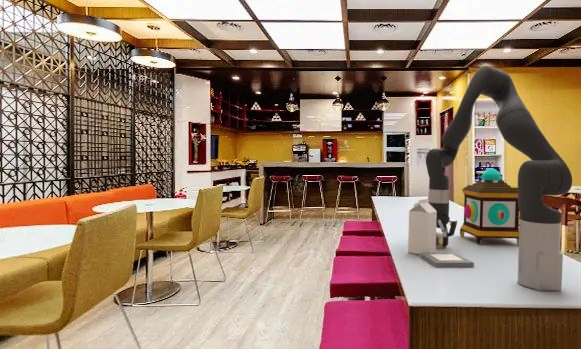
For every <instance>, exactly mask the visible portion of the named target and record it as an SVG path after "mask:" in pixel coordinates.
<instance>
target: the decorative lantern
mask: <svg viewBox="0 0 581 349" xmlns="http://www.w3.org/2000/svg"><path fill="white" fill-rule="evenodd" d="M461 191H462V193H463V196H464V198H463V199H464V203H463V206H464V207H463V208H464V209H463V223H462V224H461V227H460V229H459V235H460V237H464V235H465V233H466V234H468V235H471V236H473V237H475V239H476V244H477V245H479V246H480V245H481V243H482V240H483V239H516V244H517V246H519V226H520V212H519V208H518V187H514V186H513V187H512V186H511V185H509V184H508V183H507V182H505V180H504V179H503V180H502V176H501V173H500V172H499V171H498V170H497V169H495V168H493V167H492V168H487V169H486V170H485V171H484V172H483V173H482V175H481V179H478V181H475V182H474V183H472V184H467V186H465V187H463V188H462V189H461Z"/></svg>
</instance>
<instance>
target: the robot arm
mask: <svg viewBox="0 0 581 349" xmlns="http://www.w3.org/2000/svg"><path fill="white" fill-rule="evenodd" d="M480 96H484V97H487V98H489V99H492V100H493V101H494V102H495V104H496V106H497V108H498V111H497V114H496V117H495V122H496V126H497V128H498V130H499V132H500V134H501V137H502V138H503V139H504V141H505V142H506V143H507V144H509V145H510V146H511V147H513V148H514V149H515V150H517V151H519V152H521V153H522V154H523V155H524V156H526V157H527V158H529V160H526V161H524V162H523V163H522V164H521V165H520V167H519V169H518V172H517V189H518V208H519V225H518V229H519V245H518V256H517V258H518V259H517V283H518V284H520V285H521V286H524V287H525V288H529V289H533V290H534V289H535V290H536V291H539V292H540V291H542V292H543V291H562V287H563V286H562V282H563V281H562V280H563V259H564V256H563V253H561V240H562V239H561V237H562V235H561V234H562V218H563V217H562V213H561V211H560V210H557V209H554V208H551V207H550V206H548V205H547V204H546V203H545V202H544V198H543V196H562V195H565V194H567V193H569V191H570V190H571V189H572V186H573V176H572V172H571V170H570V168H569V166H568V165H567V162H565V161H564V159H563V158H562V157H561V156H560V155H559V153H558V152H557V151H556V149H555V148H554V147H553V146H552V145H551V144H550V142H549V141H548V140H547V138H546V137H545V135H544V133H543V132H542V131H541V128H540V127H539V126H538V124H537V122H536V121H535V120H536V119H535V118H534V117H533V115H532V114H531V112H530V111H529V110H528V108H527V106H526V105H525V103H524V102H523V100H522V98H521V97H520V95H519V93H518V91H517V89H516V86H515V84H514V81H513V79H512V77H511V75H510V74H509V73H507V72H506V71H504V70H501V69H498V68H496V67H493V66H491V65H483V66H481V67H479V68H478V69H477V70H476V71H475V72H474V74H473V76H472V77H471V79H470V81H469V83H468V85H467V87H466V90H465V92H464V94H463V96H462V99H461V101H460V103H459V106H458V108H457V111H456V112H455V115H454V117H453V119H452V120H451V122H450V123H449V125H448V126H447V128H446V129H445V131H444V132H443V134H442V136H441V142H442V144H443V145H442V147H441V148H432V149H430V150H429V151H428V152H427V154H426V157H425V166H426V169H427V174H428V178H429V179H428V180H429V181H428V183H429V184H428V195H427V196H428V197H427V199H428V203H429V204H430V205H431V206H432V207H433V208H434V209H435V210H436V211H437V219H436V229H440V232H441V233H443V236H444V237H443V247H444V248H446V247H447V246H448V245H449V238H450V237H453V236H455V232H456V229H457V225H458V220H457V219H456V220H454V219H450V216H449V214H450V177H449V175H448V174H445V172H444V169H443V168H447V167H450V166H451V165H452V164H453V162H454V161H455V159H456V158H457V154H458V152H459V149H460V146H461V144H462V143H464V142H463V141H465V138H466V137H467V136H468V134H469V132H470V131H471V128H472V123H473V110H474V105H475V104H476V101H477V100H478V99H479V97H480ZM448 224H449V226H450V228H449V230H448V227H447V225H448Z"/></svg>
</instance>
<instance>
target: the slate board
mask: <svg viewBox="0 0 581 349" xmlns="http://www.w3.org/2000/svg"><path fill="white" fill-rule="evenodd" d="M419 256H420V258H421V259H422V260H424V261H426V262H427V263H428V264H430V265H432V266H433V267H434V268H475V262H473V261H472V260H470V259H468V258H466V257H464V256H462V255H460V254H458V253H456V252H435V253H421V255H419Z"/></svg>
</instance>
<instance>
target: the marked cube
mask: <svg viewBox="0 0 581 349" xmlns="http://www.w3.org/2000/svg"><path fill="white" fill-rule="evenodd" d="M443 237H444V236H443V233H442V232H439V231H436V249H440V250H442V249H444V248H445V247H443Z"/></svg>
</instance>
